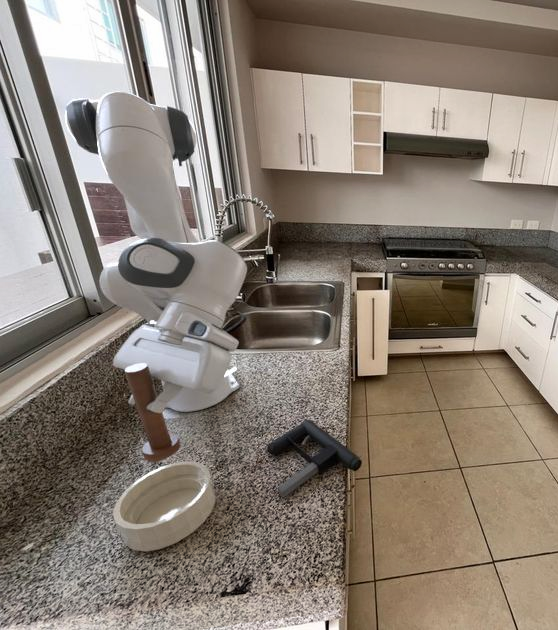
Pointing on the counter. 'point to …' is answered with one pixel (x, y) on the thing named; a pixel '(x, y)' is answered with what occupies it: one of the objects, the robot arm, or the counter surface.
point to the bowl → (165, 506)
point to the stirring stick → (150, 415)
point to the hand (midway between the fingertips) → (144, 408)
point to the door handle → (316, 463)
